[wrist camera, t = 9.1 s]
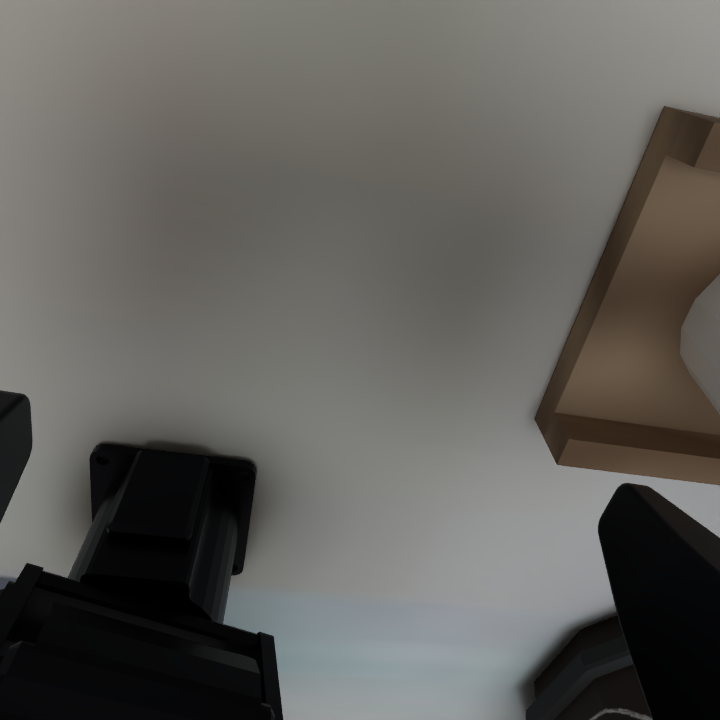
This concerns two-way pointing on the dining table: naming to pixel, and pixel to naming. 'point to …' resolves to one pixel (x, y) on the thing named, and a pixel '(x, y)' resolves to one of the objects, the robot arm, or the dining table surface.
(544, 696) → the black ribbed pot
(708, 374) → the shot glass
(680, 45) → the dining table surface
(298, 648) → the dining table surface
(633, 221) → the tray
